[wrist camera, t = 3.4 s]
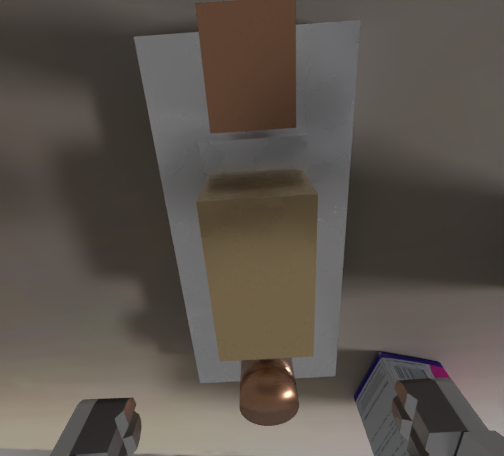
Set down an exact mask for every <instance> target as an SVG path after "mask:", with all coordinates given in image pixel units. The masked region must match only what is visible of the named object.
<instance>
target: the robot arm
mask: <svg viewBox="0 0 504 456" xmlns="http://www.w3.org/2000/svg"><path fill="white" fill-rule="evenodd" d="M395 391H396V393H397V396H395V397H394V398H393V401H392V412H393V417H394V420H395V424H396V426H397V428H398V431H399V433H400V434H401V435H402V436H403V437H405V438H406V439H407V440H408V446H407V451H408V453H409V455H410V456H504V437H503V436H502V435H500V434H499V433H497V432H496V431H489V430H488V429H487V427H486V426H485V424H484V423H483V422H482V420H481V419H480V418H479V416H478V415H477V413H476V412H475V411H474V409H473V408H472V407H471V405H470V404H469V403H468V401H467V400H466V398H465V397H464V396H463V394H462V393H461V392H460V390H459V389H458V387H457V386H456V385H455V383H454V382H453V381H452V380H451V379H450V378H448V377H443V378H431V379H430V378H422V379H410V380H398V381H397V382H396V384H395ZM135 406H136V403H135V401H134V398H109V399H87V400H82V401H81V402H80V403H79V404H78V405H77V407H76V409H75V411H74V412H73V414H72V416H71V418H70V420H69V422H68V423H67V425H66V427H65V429H64V431H63V433H62V434H61V436H60V438H59V440H58V442H57V444H56V445H55V447H54V449H53V451H52V453H51V455H50V456H131V455H132V454H133V453H134V452H135V451H136V450H137V447H138V444H139V440H140V434H141V419H140V416H139V414H138V413H136V412H135V411H134V409H135Z"/></svg>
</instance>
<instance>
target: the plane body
mask: <svg viewBox="0 0 504 456" xmlns="http://www.w3.org/2000/svg"><path fill="white" fill-rule="evenodd" d="M195 6H196V14H197V23H198V31H199V32H190V33H177V34H163V35H150V36H136V37H134V41H135V46H136V51H137V57H138V62H139V67H140V72H141V78H142V83H143V88H144V93H145V98H146V104H147V109H148V114H149V119H150V125H151V130H152V135H153V140H154V145H155V151H156V156H157V161H158V166H159V172H160V177H161V182H162V187H163V192H164V198H165V203H166V208H167V213H168V219H169V224H170V229H171V234H172V239H173V245H174V250H175V255H176V260H177V266H178V271H179V276H180V281H181V286H182V292H183V297H184V302H185V307H186V313H187V318H188V323H189V328H190V333H191V339H192V344H193V349H194V354H195V360H196V365H197V370H198V375H199V380H200V383H217V382H236V381H240V411H241V413H242V415H243V416H244V417H245V418H246V419H247V420H249V421H250V422H252V423H255V424H258V425H264V426H273V425H279V424H282V423H285V422H287V421H289V420H290V419H291V418H293V417H294V416H295V415H296V413H297V411H298V409H299V401H298V395H297V388H296V382H295V378H312V377H331V376H336V362H337V347H338V333H339V319H340V304H341V290H342V276H343V261H344V247H345V233H346V219H347V204H348V190H349V176H350V161H351V147H352V133H353V118H354V104H355V90H356V75H357V61H358V47H359V32H360V20H354V21H340V22H326V23H313V24H299V25H296V0H235V1H222V2H208V3H195ZM301 170H302V171H303V172H304V174H305V175H306V177H307V178H308V180H309V181H310V183H311V184H312V186H313V187H314V189H315V190H316V192H317V193H318V215H317V252H316V289H315V326H314V356H313V357H295V358H276V359H257V360H239V361H219V355H218V348H217V341H216V334H215V327H214V321H213V314H212V307H211V300H210V294H209V287H208V280H207V273H206V266H205V260H204V253H203V246H202V239H201V233H200V226H199V219H198V212H197V205H196V201H197V199H198V196H199V194H200V192H201V190H202V188H203V186H204V184H205V182H206V180H207V177H208V176H224V175H239V174H255V173H270V172H285V171H301Z"/></svg>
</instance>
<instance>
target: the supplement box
mask: <svg viewBox="0 0 504 456" xmlns="http://www.w3.org/2000/svg"><path fill="white" fill-rule="evenodd" d="M443 377H448V378H450V377H449V375H448V374H447V372H446V371H445V369H444V368H443V366H442V365H441V363H440V362H436V361H430V360H424V359H418V358H412V357H406V356H400V355H395V354H389V353H383V352H378V354H377V355H376V357H375V359H374V360H373V362H372V364H371V366H370V368H369V370H368V371H367V374H366V375H365V377H364V379H363V380H362V382H361V384H360V386H359V388H358V389H357V391H356V393H355V395H354V399H355V402H356V405H357V408H358V411H359V414H360V416H361V419H362V422H363V425H364V428H365V431H366V434H367V437H368V440H369V442H370V445H371V448H372V451H373V454H374V456H410V455H409V453H408V451H407V446H408V440H407V439H406V438H405V437H403V436H402V435H401V434H400V433H399V431H398V428H397V426H396V424H395V420H394V417H393V412H392V401H393V398H394V397H395V396H397V393H396V391H395V384H396V382H397V381H398V380H410V379H422V378H430V379H431V378H443ZM450 379H451V378H450Z"/></svg>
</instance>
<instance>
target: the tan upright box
mask: <svg viewBox="0 0 504 456" xmlns="http://www.w3.org/2000/svg"><path fill="white" fill-rule="evenodd" d="M196 205H197V212H198V219H199V226H200V233H201V239H202V246H203V253H204V260H205V266H206V273H207V280H208V287H209V294H210V300H211V307H212V314H213V321H214V327H215V334H216V341H217V348H218V355H219V361H239V360H257V359H276V358H295V357H313V356H314V326H315V289H316V252H317V215H318V193H317V192H316V190H315V189H314V187H313V186H312V184H311V183H310V181H309V180H308V178H307V177H306V175H305V174H304V172H303V171H302V170H301V171H285V172H270V173H255V174H239V175H224V176H208V177H207V180H206V182H205V184H204V186H203V188H202V190H201V192H200V194H199V196H198V199H197V201H196Z"/></svg>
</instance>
